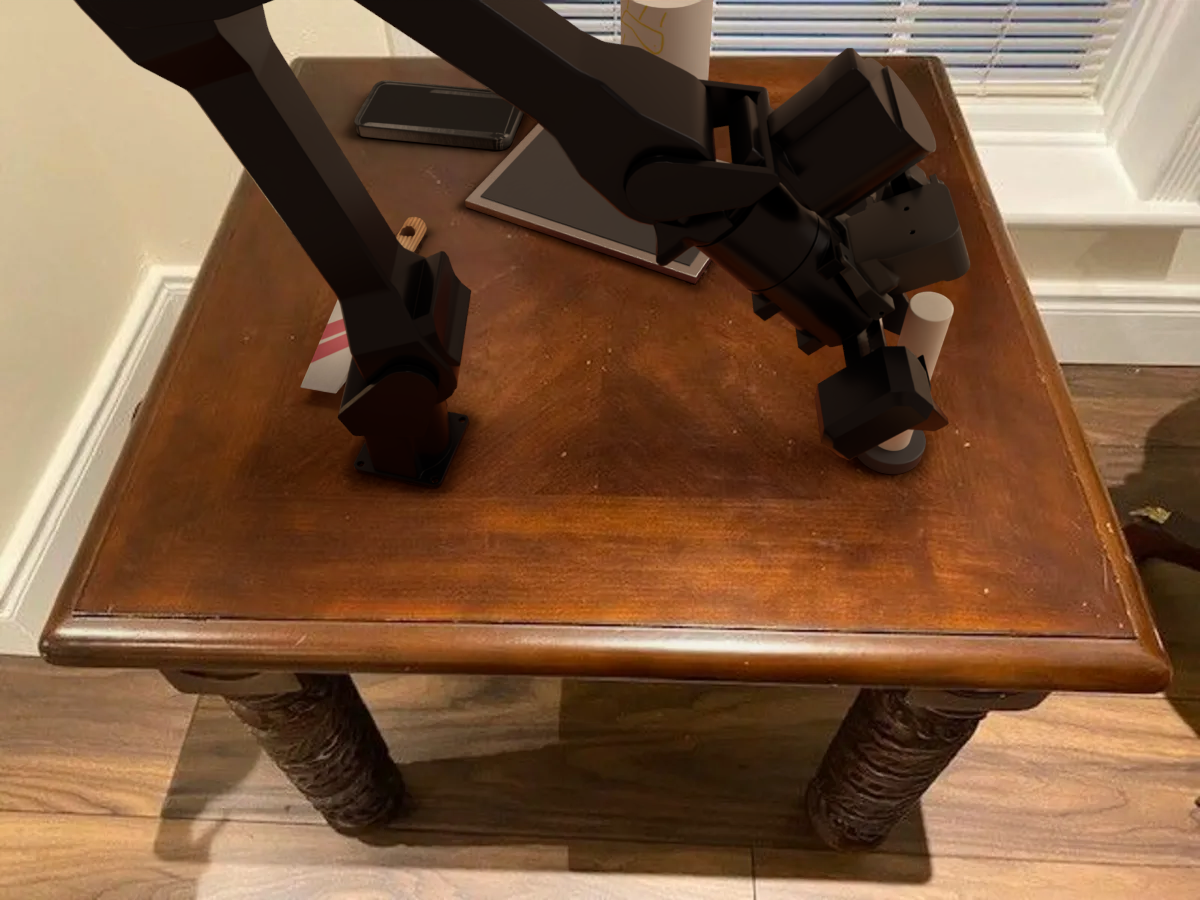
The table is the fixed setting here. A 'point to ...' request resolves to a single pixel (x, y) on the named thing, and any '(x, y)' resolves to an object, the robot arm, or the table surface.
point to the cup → (670, 31)
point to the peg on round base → (926, 338)
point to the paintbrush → (333, 346)
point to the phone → (438, 115)
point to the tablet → (570, 207)
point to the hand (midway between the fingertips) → (930, 378)
